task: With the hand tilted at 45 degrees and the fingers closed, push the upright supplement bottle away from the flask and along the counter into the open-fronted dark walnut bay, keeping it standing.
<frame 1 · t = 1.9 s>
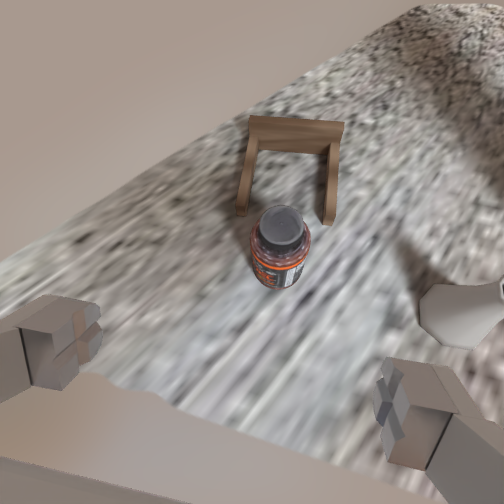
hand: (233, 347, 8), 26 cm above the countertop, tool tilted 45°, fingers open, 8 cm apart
walnut bay: (288, 180, 42), on the countertop
flask: (450, 316, 34), on the countertop
supplement bottle: (277, 268, 37), on the countertop
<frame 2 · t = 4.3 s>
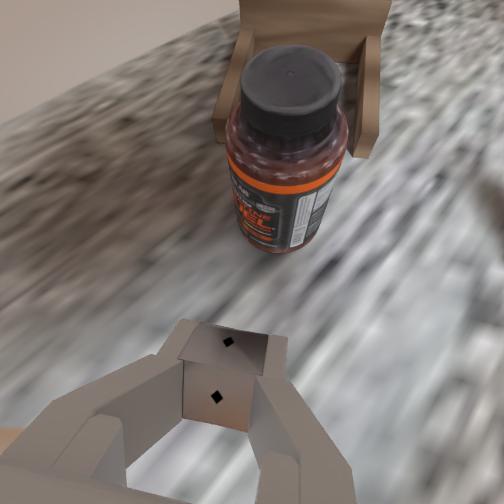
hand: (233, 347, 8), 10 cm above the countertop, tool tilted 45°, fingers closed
walnut bay: (299, 95, 27), on the countertop
supplement bottle: (278, 221, 22), on the countertop
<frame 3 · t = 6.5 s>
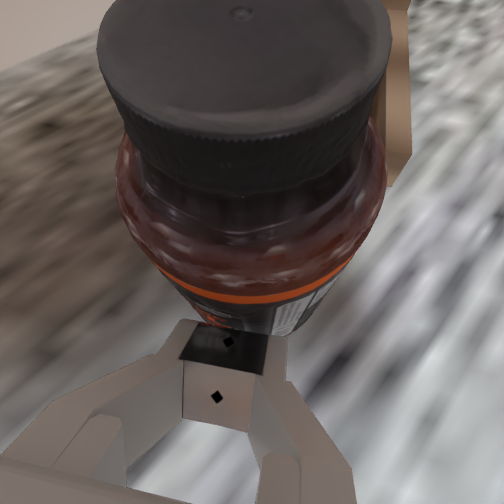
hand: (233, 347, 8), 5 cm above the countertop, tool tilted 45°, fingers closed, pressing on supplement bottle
walnut bay: (292, 93, 19), on the countertop
supplement bottle: (256, 283, 14), on the countertop, touching gripper
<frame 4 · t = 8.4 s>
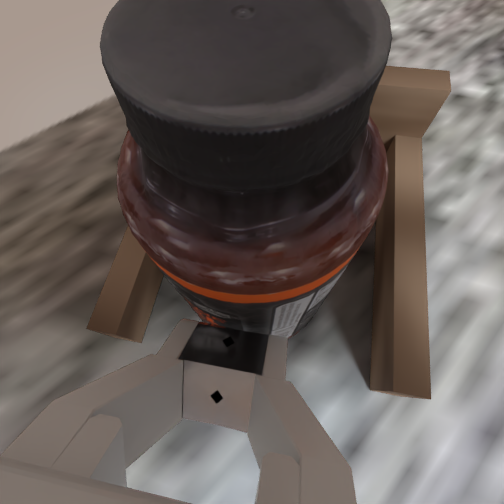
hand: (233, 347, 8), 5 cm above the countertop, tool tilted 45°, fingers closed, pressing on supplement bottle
walnut bay: (274, 234, 15), on the countertop
supplement bottle: (257, 286, 14), on the countertop, touching gripper
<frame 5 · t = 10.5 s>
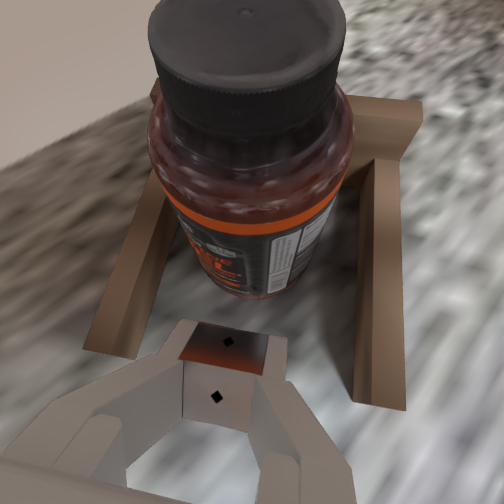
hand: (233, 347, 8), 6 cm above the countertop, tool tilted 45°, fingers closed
walnut bay: (262, 252, 16), on the countertop
supplement bottle: (255, 250, 16), on the countertop
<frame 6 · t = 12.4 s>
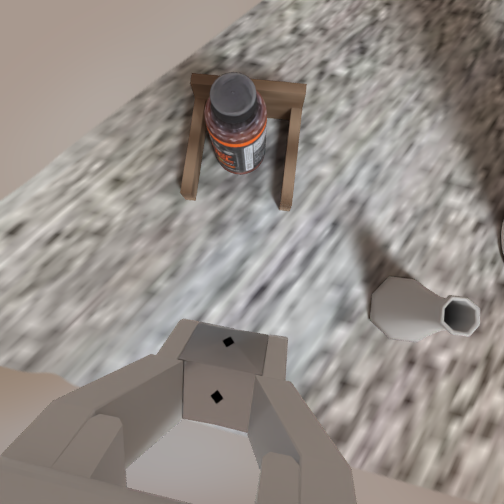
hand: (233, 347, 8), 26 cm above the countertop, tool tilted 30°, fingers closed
walnut bay: (243, 154, 36), on the countertop
flask: (400, 308, 34), on the countertop
supplement bottle: (240, 153, 37), on the countertop
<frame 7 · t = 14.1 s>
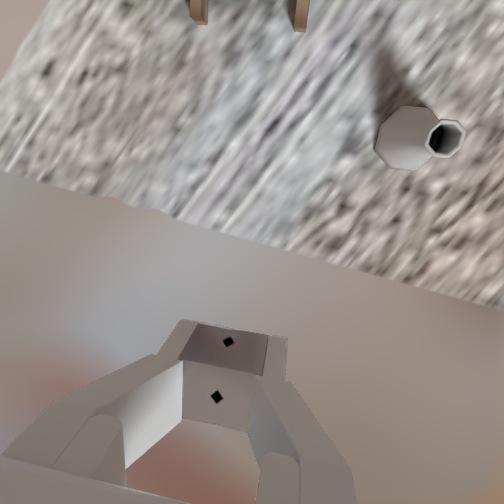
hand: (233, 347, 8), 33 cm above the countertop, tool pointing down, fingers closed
flask: (406, 139, 35), on the countertop
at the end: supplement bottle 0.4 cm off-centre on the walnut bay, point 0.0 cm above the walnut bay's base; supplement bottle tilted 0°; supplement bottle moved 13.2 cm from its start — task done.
